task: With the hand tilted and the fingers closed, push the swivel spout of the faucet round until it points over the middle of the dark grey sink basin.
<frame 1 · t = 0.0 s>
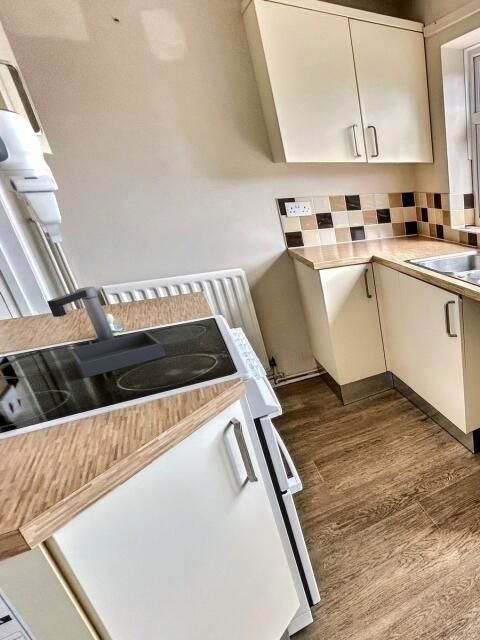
hand: (55, 240, 108), 28 cm above the worktop, tool pointing down, fingers open, 8 cm apart
spout: (74, 301, 103), point 14 cm above the worktop, hinge at -40.0°
sink: (120, 359, 105), on the worktop
faucet column: (110, 347, 113), on the worktop
pacifier: (110, 335, 122), on the worktop
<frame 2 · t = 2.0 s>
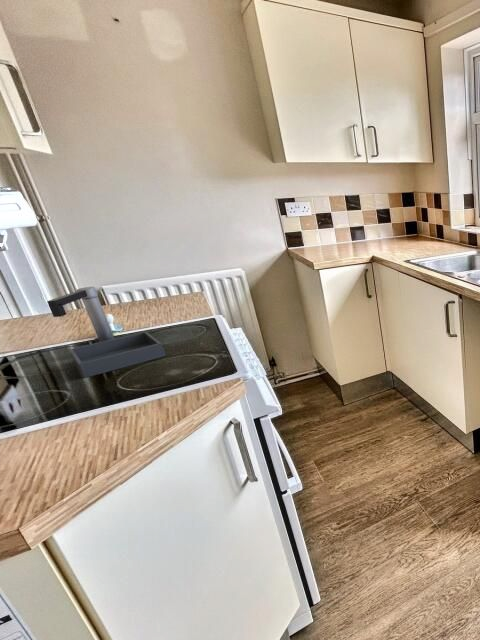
nothing on the worktop moved.
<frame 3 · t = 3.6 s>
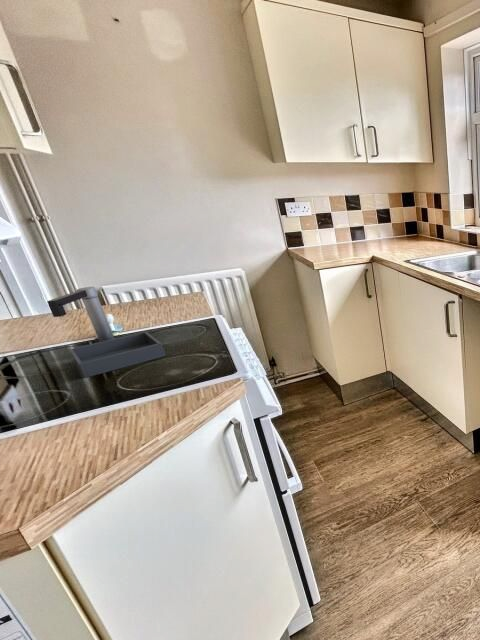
nothing on the worktop moved.
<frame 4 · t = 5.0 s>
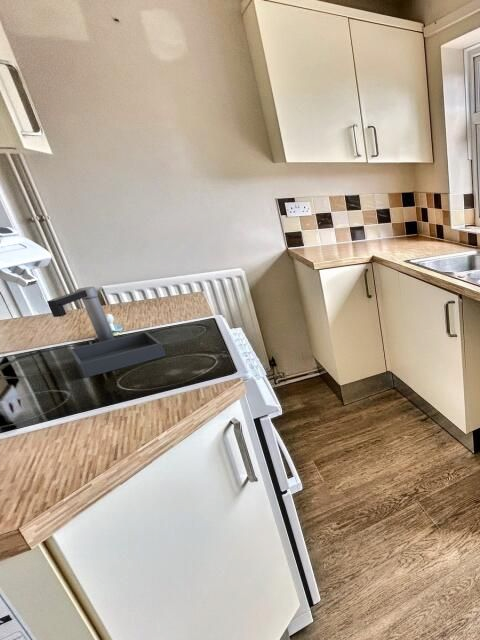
hand: (31, 283, 99), 19 cm above the worktop, tool tilted 45°, fingers closed
nothing on the worktop moved.
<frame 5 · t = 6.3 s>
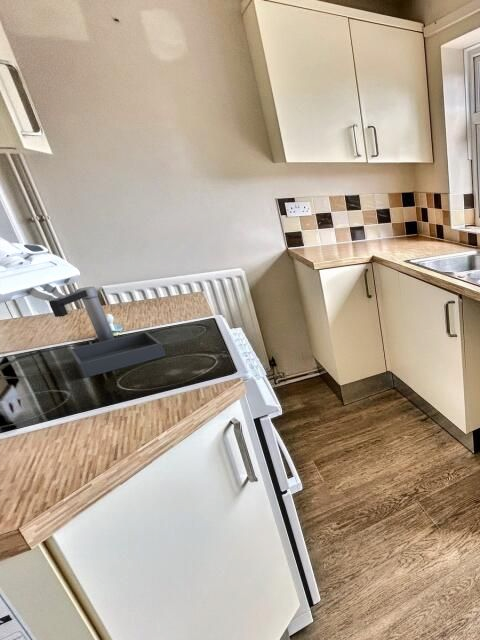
hand: (62, 301, 101), 15 cm above the worktop, tool tilted 45°, fingers closed
spout: (75, 301, 103), point 14 cm above the worktop, hinge at -38.3°, touching gripper
everything else where it was.
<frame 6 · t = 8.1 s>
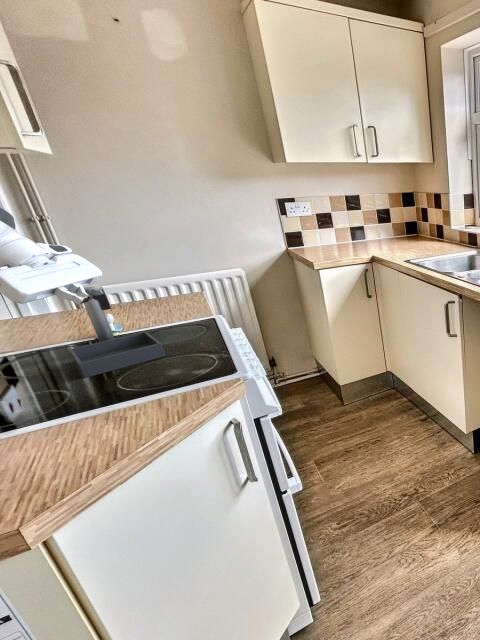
hand: (85, 301, 102), 15 cm above the worktop, tool tilted 45°, fingers closed
spout: (95, 298, 105), point 14 cm above the worktop, hinge at 6.2°, touching gripper
everything else where it was.
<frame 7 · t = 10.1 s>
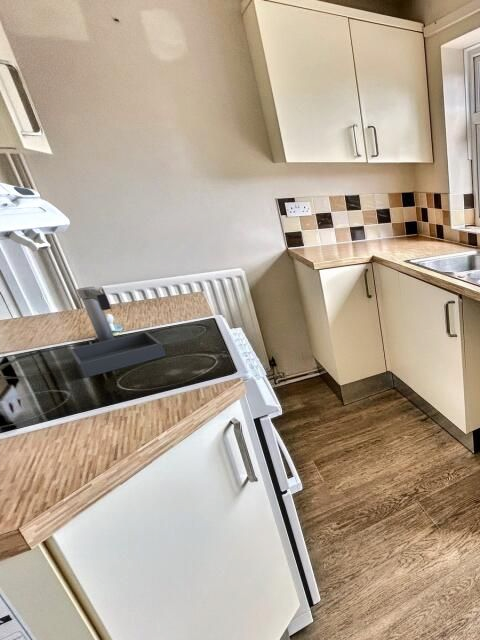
hand: (42, 248, 97), 27 cm above the worktop, tool tilted 40°, fingers closed
spout: (95, 298, 105), point 14 cm above the worktop, hinge at 6.2°
everything else where it was.
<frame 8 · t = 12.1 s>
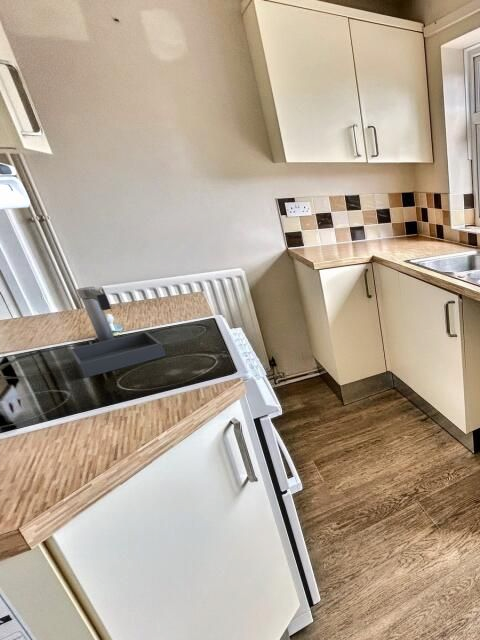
nothing on the worktop moved.
at the end: spout at +6° (first picture: -40°); pacifier moved 0.2 cm from its start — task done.
